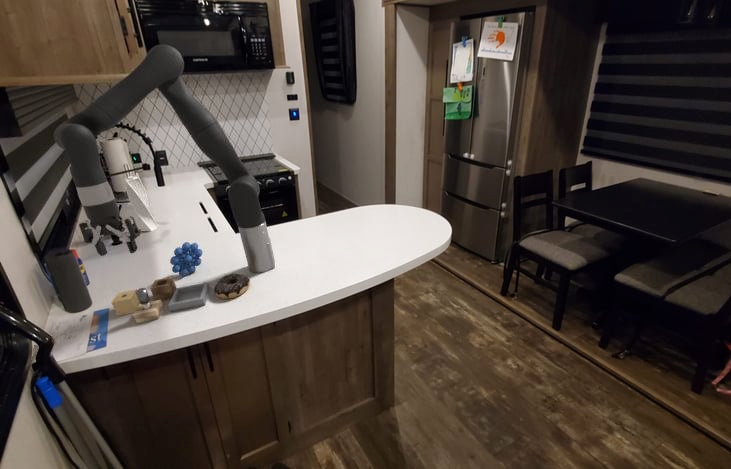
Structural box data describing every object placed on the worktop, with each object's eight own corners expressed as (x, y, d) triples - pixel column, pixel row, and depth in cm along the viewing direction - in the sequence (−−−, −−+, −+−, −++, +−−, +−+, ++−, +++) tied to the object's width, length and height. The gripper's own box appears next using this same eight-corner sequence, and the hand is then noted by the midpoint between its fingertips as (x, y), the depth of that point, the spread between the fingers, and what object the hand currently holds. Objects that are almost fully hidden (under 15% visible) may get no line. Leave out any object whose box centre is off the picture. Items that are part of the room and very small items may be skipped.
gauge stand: (163, 307, 117) (160, 299, 115) (158, 318, 111) (155, 310, 110) (143, 311, 116) (139, 303, 114) (136, 323, 110) (133, 314, 109)
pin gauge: (156, 311, 115) (147, 287, 111) (154, 316, 113) (144, 291, 109) (147, 313, 115) (137, 288, 111) (144, 318, 112) (133, 293, 108)
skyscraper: (162, 225, 184) (143, 170, 172) (153, 232, 177) (132, 175, 165) (147, 226, 185) (127, 171, 173) (138, 232, 178) (116, 176, 166)
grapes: (201, 263, 142) (193, 235, 138) (209, 268, 138) (201, 239, 133) (171, 276, 135) (160, 246, 130) (178, 282, 131) (167, 251, 126)
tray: (209, 288, 125) (207, 282, 124) (205, 305, 116) (202, 298, 115) (178, 294, 123) (176, 288, 122) (171, 312, 114) (168, 305, 113)
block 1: (142, 302, 121) (136, 289, 119) (136, 312, 116) (130, 298, 114) (123, 305, 120) (118, 292, 118) (117, 315, 115) (111, 302, 113)
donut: (254, 279, 128) (251, 269, 126) (245, 299, 117) (242, 288, 116) (222, 282, 128) (219, 272, 126) (210, 302, 117) (207, 292, 116)
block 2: (177, 289, 126) (172, 276, 124) (173, 298, 121) (168, 285, 119) (159, 292, 125) (155, 280, 123) (155, 301, 120) (150, 288, 118)
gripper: (132, 193, 104) (150, 245, 110) (81, 197, 104) (102, 249, 110) (116, 202, 97) (136, 257, 104) (62, 206, 97) (85, 261, 104)
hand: (118, 253), depth 107 cm, fingers open, 8 cm apart
